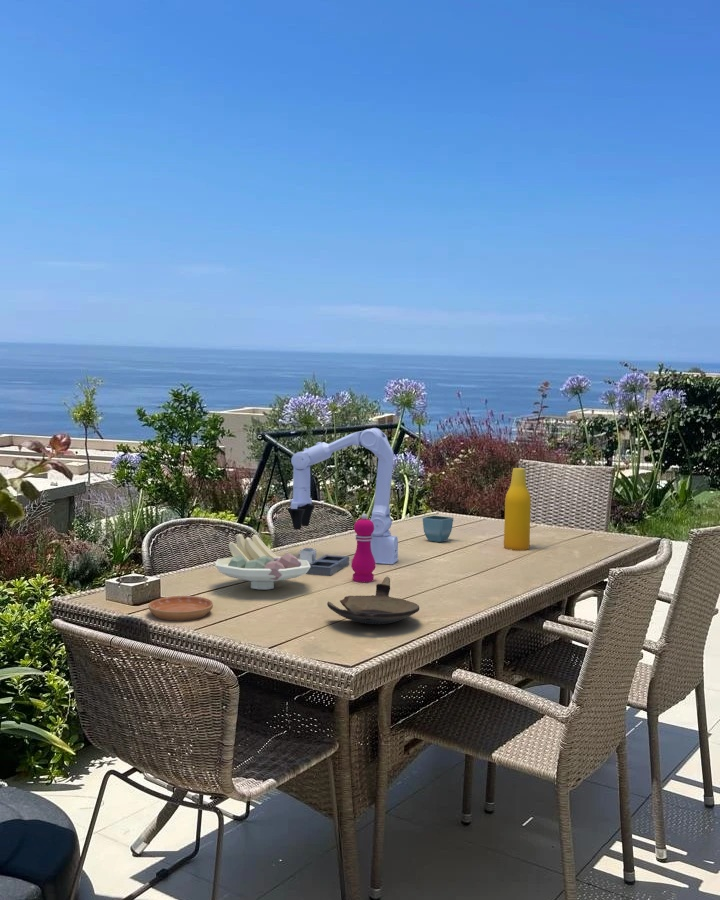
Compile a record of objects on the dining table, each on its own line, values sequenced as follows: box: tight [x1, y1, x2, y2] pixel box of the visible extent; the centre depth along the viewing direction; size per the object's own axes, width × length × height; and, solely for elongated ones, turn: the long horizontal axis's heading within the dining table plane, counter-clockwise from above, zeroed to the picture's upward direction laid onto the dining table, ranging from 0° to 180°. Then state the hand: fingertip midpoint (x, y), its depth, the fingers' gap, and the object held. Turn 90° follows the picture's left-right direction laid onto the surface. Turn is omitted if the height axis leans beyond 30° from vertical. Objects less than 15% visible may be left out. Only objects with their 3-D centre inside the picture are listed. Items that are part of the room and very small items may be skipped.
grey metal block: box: [299, 547, 317, 564], centre depth 292 cm, size 4×4×5 cm
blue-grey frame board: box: [305, 554, 350, 577], centre depth 286 cm, size 8×19×2 cm, turn 163°
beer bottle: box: [503, 467, 532, 551], centre depth 327 cm, size 9×9×29 cm
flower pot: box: [422, 515, 454, 543], centre depth 340 cm, size 9×9×9 cm
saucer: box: [148, 595, 214, 621], centre depth 228 cm, size 16×16×3 cm
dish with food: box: [215, 533, 311, 590], centre depth 258 cm, size 28×28×14 cm
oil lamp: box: [327, 576, 420, 625], centre depth 226 cm, size 22×30×8 cm
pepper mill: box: [351, 513, 376, 583], centre depth 270 cm, size 7×7×20 cm
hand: (301, 527), depth 305 cm, fingers open, 7 cm apart
